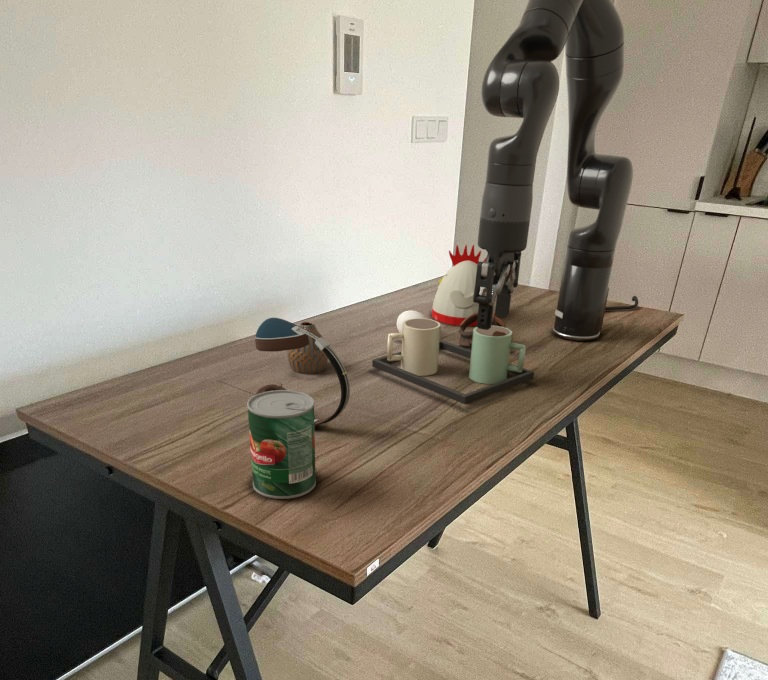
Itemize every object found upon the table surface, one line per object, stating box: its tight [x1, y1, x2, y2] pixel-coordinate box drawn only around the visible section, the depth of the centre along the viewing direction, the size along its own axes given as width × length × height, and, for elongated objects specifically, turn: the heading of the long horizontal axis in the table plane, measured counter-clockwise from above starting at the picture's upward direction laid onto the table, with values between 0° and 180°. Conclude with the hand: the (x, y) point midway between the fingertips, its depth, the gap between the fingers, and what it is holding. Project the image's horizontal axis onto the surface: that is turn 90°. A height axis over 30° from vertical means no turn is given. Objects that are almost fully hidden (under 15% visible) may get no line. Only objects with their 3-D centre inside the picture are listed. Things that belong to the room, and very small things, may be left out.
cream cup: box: [386, 318, 442, 377], centre depth 120 cm, size 9×6×8 cm
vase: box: [286, 321, 329, 375], centre depth 120 cm, size 7×7×9 cm
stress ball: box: [396, 309, 428, 333], centre depth 139 cm, size 8×8×7 cm
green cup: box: [468, 325, 527, 385], centre depth 117 cm, size 9×6×8 cm
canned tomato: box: [246, 389, 317, 500], centre depth 86 cm, size 8×8×11 cm
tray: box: [371, 339, 535, 405], centre depth 121 cm, size 18×22×2 cm
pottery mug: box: [458, 312, 508, 348], centre depth 135 cm, size 12×10×8 cm
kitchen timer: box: [431, 243, 496, 327], centre depth 151 cm, size 14×14×15 cm
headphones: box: [218, 317, 351, 427], centre depth 101 cm, size 6×15×22 cm
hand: (492, 322), depth 115 cm, fingers open, 8 cm apart
